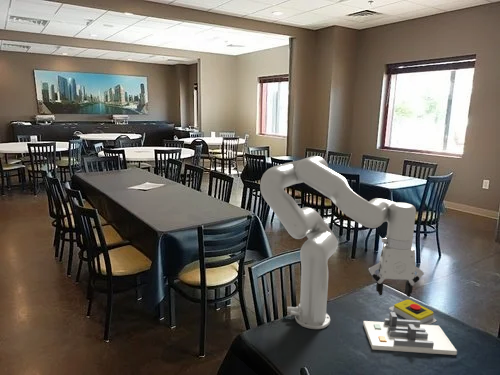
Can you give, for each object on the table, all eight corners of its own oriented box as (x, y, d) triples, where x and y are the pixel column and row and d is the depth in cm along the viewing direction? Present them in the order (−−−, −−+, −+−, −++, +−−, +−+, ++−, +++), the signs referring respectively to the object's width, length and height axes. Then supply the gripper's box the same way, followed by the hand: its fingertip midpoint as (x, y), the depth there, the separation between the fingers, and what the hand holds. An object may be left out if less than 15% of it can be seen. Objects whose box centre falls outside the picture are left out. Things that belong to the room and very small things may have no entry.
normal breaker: (391, 329, 126) (392, 316, 125) (388, 324, 129) (389, 311, 128) (395, 330, 126) (397, 316, 125) (393, 325, 129) (394, 312, 128)
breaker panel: (372, 349, 119) (372, 340, 118) (363, 324, 132) (363, 316, 132) (456, 355, 116) (457, 345, 116) (438, 329, 130) (439, 320, 129)
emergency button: (423, 318, 130) (388, 299, 143) (422, 329, 131) (387, 309, 144) (439, 311, 135) (404, 293, 147) (437, 321, 136) (403, 303, 148)
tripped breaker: (409, 343, 119) (411, 329, 118) (406, 337, 122) (408, 323, 121) (414, 343, 119) (416, 329, 118) (411, 337, 122) (413, 324, 121)
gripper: (373, 245, 111) (368, 298, 115) (432, 248, 110) (425, 301, 114) (367, 237, 119) (363, 287, 122) (423, 239, 117) (417, 290, 121)
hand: (393, 293), depth 118 cm, fingers open, 8 cm apart
